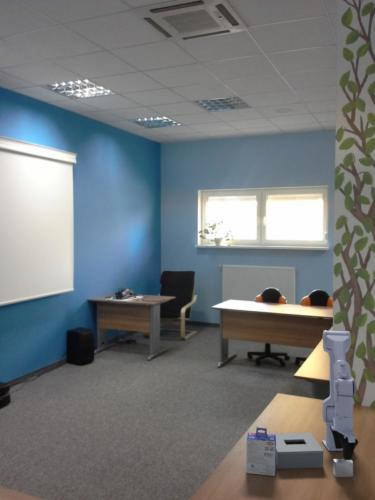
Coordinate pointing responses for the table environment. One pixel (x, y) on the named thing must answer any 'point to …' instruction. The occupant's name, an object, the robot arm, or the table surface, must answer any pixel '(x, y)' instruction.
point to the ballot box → (298, 451)
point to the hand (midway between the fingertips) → (343, 453)
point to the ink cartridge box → (261, 453)
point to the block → (342, 468)
